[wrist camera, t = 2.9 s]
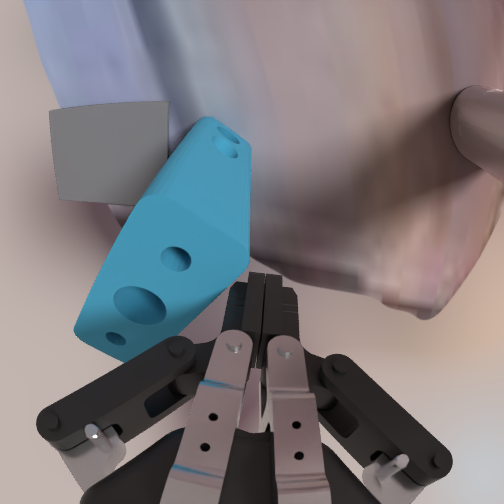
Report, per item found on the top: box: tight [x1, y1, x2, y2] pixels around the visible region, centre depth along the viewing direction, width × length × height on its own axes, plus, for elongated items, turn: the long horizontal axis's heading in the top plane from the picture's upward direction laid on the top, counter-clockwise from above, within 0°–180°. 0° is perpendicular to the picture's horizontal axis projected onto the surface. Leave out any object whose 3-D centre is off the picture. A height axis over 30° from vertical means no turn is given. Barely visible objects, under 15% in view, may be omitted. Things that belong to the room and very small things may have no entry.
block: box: [74, 116, 251, 363], centre depth 22 cm, size 12×5×20 cm, turn 141°
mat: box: [49, 101, 169, 206], centre depth 30 cm, size 16×12×1 cm
